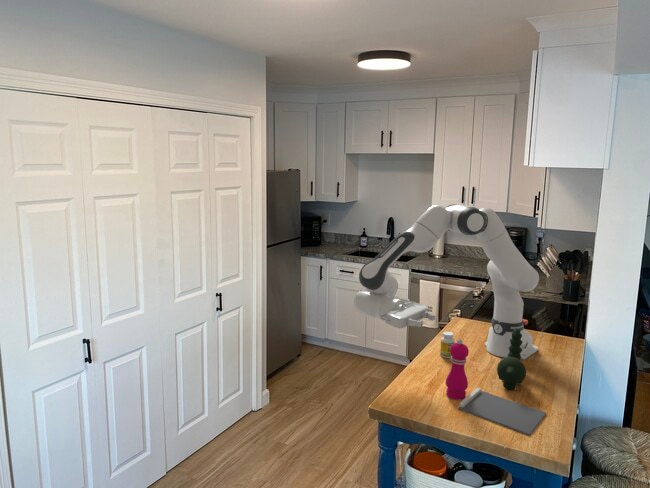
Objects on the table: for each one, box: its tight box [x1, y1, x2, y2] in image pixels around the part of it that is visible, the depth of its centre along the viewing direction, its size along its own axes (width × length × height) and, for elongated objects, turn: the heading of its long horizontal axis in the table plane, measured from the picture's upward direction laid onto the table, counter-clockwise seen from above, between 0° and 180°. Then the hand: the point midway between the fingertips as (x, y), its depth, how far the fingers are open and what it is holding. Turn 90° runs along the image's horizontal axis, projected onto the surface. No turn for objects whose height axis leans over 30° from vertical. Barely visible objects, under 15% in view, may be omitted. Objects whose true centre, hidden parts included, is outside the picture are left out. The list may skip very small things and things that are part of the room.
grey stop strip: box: [459, 387, 482, 407], centre depth 157 cm, size 1×14×2 cm, turn 140°
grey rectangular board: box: [457, 390, 547, 437], centre depth 151 cm, size 22×16×1 cm
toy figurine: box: [496, 328, 527, 391], centre depth 170 cm, size 9×19×25 cm
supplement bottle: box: [439, 331, 456, 359], centre depth 192 cm, size 5×5×10 cm
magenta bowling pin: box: [445, 338, 469, 401], centre depth 159 cm, size 7×7×20 cm
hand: (428, 321), depth 164 cm, fingers open, 8 cm apart
